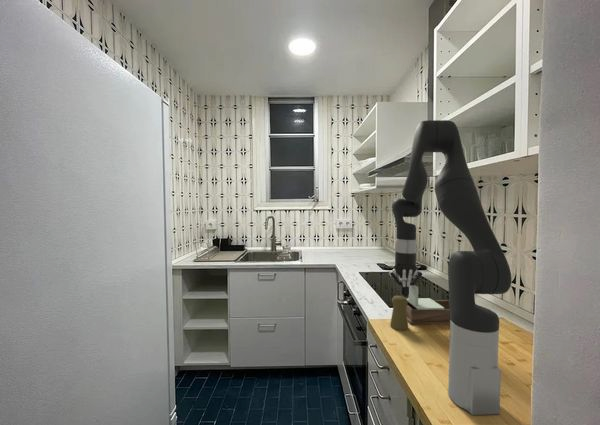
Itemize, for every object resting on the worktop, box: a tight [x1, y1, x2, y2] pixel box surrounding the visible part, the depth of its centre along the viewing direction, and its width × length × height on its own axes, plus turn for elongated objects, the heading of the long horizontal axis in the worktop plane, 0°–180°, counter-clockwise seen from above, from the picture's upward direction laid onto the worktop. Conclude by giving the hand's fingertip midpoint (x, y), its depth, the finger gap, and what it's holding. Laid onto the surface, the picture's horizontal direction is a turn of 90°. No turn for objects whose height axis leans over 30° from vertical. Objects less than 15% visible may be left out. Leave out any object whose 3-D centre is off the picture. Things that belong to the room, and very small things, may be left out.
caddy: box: [406, 299, 450, 326], centre depth 111 cm, size 12×24×5 cm, turn 93°
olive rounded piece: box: [389, 294, 409, 332], centre depth 102 cm, size 6×6×11 cm
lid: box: [406, 284, 444, 310], centre depth 110 cm, size 11×10×8 cm
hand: (404, 295), depth 110 cm, fingers closed
